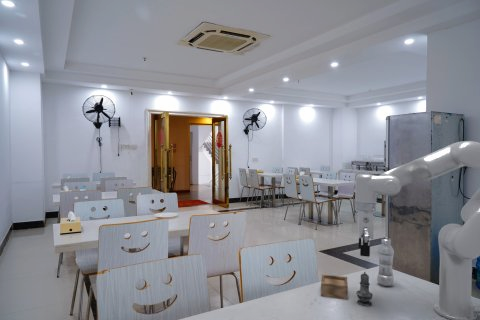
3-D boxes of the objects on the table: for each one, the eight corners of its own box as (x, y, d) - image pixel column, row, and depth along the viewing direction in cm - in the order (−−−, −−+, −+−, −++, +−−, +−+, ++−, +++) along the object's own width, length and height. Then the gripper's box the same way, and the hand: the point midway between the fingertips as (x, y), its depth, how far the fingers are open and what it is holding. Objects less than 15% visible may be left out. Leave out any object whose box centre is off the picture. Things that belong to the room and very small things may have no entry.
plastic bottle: (375, 285, 139) (376, 239, 139) (379, 280, 145) (379, 236, 145) (392, 289, 136) (392, 241, 135) (395, 284, 141) (395, 238, 141)
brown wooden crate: (346, 289, 135) (347, 277, 135) (347, 299, 126) (347, 286, 126) (322, 286, 138) (322, 274, 138) (320, 296, 129) (321, 283, 129)
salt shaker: (374, 307, 120) (374, 274, 119) (357, 305, 121) (357, 273, 121) (371, 300, 125) (371, 269, 125) (355, 298, 127) (355, 268, 126)
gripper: (378, 211, 113) (377, 260, 114) (373, 204, 130) (372, 247, 130) (356, 210, 115) (354, 258, 116) (353, 203, 132) (352, 245, 132)
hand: (363, 252), depth 123 cm, fingers open, 9 cm apart
